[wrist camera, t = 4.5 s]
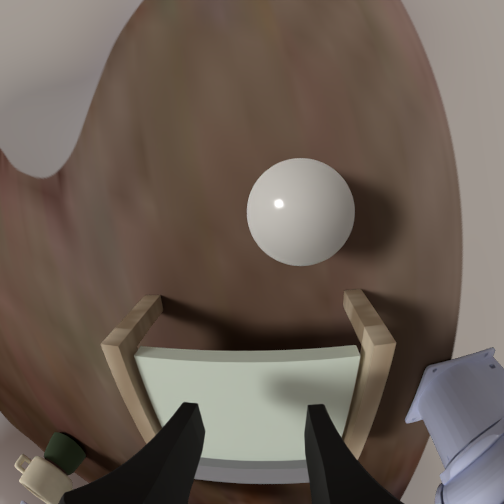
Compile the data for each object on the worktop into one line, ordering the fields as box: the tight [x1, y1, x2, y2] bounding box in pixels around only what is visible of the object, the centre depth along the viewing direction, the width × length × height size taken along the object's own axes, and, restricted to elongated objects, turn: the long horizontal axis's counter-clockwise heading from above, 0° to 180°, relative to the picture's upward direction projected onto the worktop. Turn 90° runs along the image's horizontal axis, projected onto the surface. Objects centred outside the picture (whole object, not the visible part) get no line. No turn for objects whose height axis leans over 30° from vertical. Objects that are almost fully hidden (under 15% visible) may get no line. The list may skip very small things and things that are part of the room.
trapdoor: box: [134, 345, 360, 484], centre depth 15 cm, size 13×12×2 cm
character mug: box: [15, 432, 86, 504], centre depth 22 cm, size 11×7×13 cm, turn 60°
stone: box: [247, 158, 355, 266], centre depth 14 cm, size 5×5×5 cm
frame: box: [101, 289, 396, 460], centre depth 18 cm, size 15×16×7 cm
